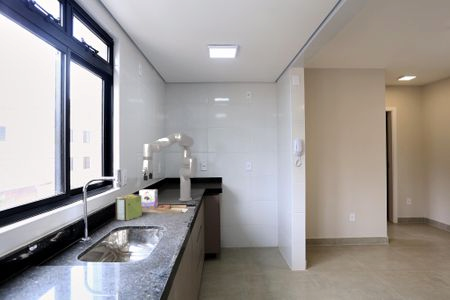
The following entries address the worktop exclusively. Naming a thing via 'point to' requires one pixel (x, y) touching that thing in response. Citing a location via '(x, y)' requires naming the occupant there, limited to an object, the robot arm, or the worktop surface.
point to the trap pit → (164, 207)
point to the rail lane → (166, 209)
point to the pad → (182, 209)
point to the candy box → (149, 199)
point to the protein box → (128, 207)
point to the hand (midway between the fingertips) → (148, 179)
